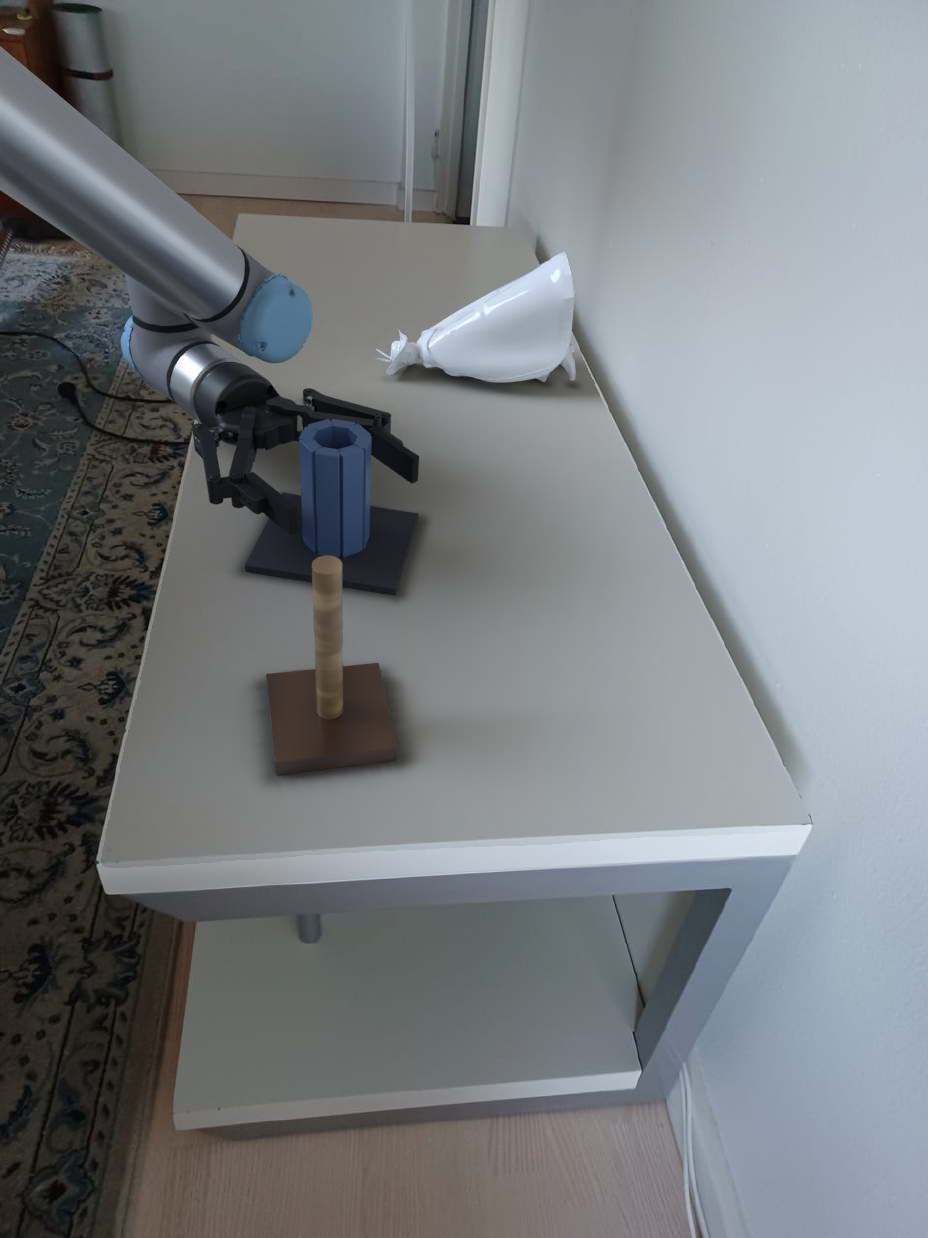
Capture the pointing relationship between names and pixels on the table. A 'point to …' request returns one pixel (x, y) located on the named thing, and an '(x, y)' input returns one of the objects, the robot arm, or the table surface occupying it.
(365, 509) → the sleeve
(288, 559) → the mat
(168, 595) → the table surface
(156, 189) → the robot arm
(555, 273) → the knotted white bag
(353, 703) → the dowel stand
